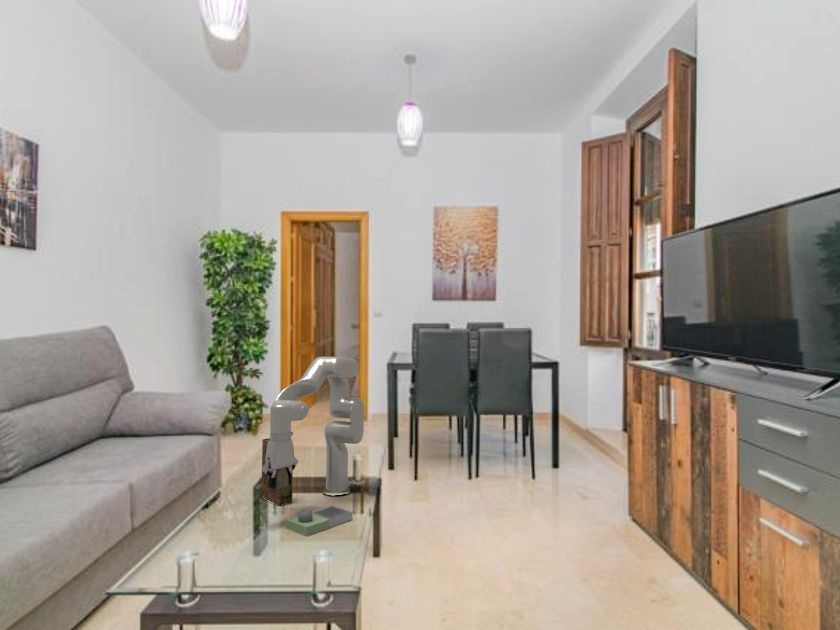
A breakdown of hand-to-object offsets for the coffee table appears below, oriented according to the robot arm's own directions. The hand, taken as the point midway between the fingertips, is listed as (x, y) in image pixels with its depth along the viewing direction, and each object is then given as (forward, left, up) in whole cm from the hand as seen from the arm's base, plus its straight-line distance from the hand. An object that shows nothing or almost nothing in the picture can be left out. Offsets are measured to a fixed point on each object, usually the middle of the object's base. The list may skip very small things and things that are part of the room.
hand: (280, 485), depth 191 cm
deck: (-3, +12, -14) cm, 19 cm away
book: (-14, -24, -14) cm, 31 cm away
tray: (-14, +12, -14) cm, 23 cm away
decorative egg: (0, 0, -2) cm, 2 cm away
